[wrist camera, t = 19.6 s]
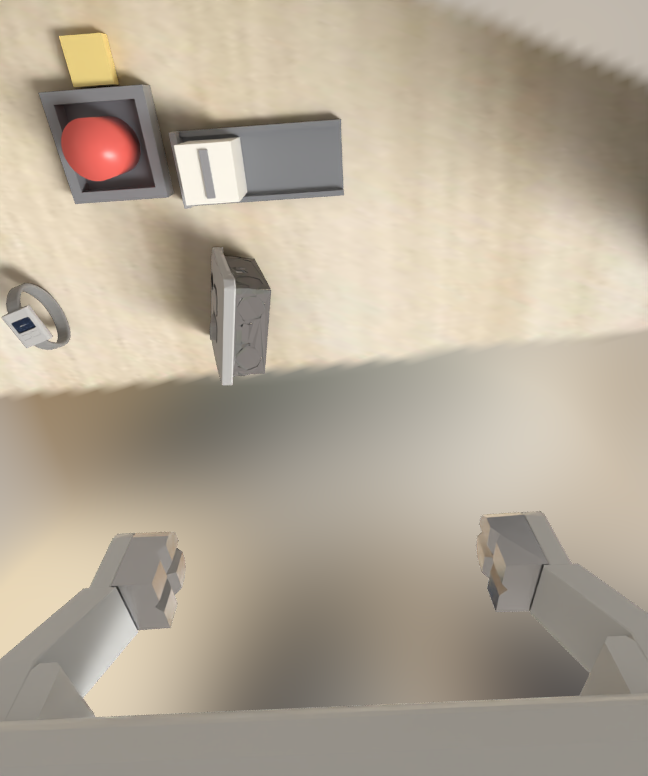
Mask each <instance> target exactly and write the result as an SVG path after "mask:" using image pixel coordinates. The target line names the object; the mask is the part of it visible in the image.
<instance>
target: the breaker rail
mask: <svg viewBox="0 0 648 776" xmlns="http://www.w3.org/2000/svg"><path fill="white" fill-rule="evenodd" d="M234 137H240V142H241V150H242V157H243V164H244V171H245V178H246V185H247V193H246V194H245V196H244V197H243V198H242V199H241V201H240V202H254V201H268V200H283V199H297V198H311V197H325V196H340V195H344V190H343V169H342V144H341V119H334V120H320V121H307V122H294V123H280V124H267V125H254V126H240V127H227V128H213V129H200V130H187V131H175V132H170V133H169V138H170V143H171V147H172V152H173V157H174V161H175V166H176V171H177V175H178V180H179V185H180V189H181V194H182V199H183V203H184V208H191V207H193V206H197V205H188V206H186V201H185V196H184V191H183V187H182V182H181V177H180V172H179V168H178V163H177V158H176V154H175V149H174V145H177V144H180V143H184V142H187V141H194V140H207V139H221V138H234ZM240 202H231V203H240ZM217 204H226V203H217ZM202 205H212V204H202Z"/></svg>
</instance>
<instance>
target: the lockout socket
mask: <svg viewBox="0 0 648 776" xmlns="http://www.w3.org/2000/svg"><path fill="white" fill-rule="evenodd" d="M59 39H60V42H61V46H62V49H63V53H64V56H65V59H66V63H67V66H68V70H69V73H70V76H71V80H72V83H73V86H74V87H78V88H82V87H94V86H107V85H119V82H118V78H117V74H116V70H115V66H114V62H113V58H112V55H111V51H110V47H109V43H108V39H107V35H106V34H103V33H91V34H79V35H66V36H59ZM39 96H40V99H41V102H42V105H43V108H44V111H45V114H46V117H47V120H48V123H49V126H50V129H51V132H52V135H53V138H54V141H55V144H56V147H57V150H58V153H59V156H60V159H61V162H62V165H63V168H64V171H65V174H66V177H67V180H68V183H69V186H70V189H71V192H72V195H73V198H74V201H75V204H81V203H95V202H109V201H124V200H138V199H152V198H166V197H169V196H171V195H173V194H174V191H173V187H172V182H171V178H170V173H169V169H168V164H167V160H166V155H165V151H164V146H163V142H162V137H161V133H160V128H159V124H158V119H157V115H156V110H155V106H154V101H153V97H152V92H151V88H150V85H131V86H118V87H105V88H92V89H80V90H67V91H54V92H41V93H39ZM102 116H112V117H116V118H119V119H121V120H123V121H124V122H126V123H127V124H128V125H129V126H130V127H131V128H132V129H133V130H134V132H135V133H136V135H137V137H138V140H139V143H140V148H141V154H140V159H139V162H138V164H137V165H136V167H135V168H134V169H132V170H131V171H129V172H126V173H123V174H121V175H118V176H115V177H112V178H110V179H107V180H104V181H92V180H88V179H86V178H84V177H82V176H80V175H79V174H78V173H77V172H75V171H74V170H73V169H72V168H71V166H70V165H69V164H68V162H67V160H66V159H65V156H64V154H63V151H62V146H61V137H62V132H63V130H64V128H65V126H66V125H67V124H68V123H69V122H71V121H72V120H74V119H77V118H87V117H102Z"/></svg>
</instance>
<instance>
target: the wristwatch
mask: <svg viewBox="0 0 648 776" xmlns="http://www.w3.org/2000/svg"><path fill="white" fill-rule="evenodd" d="M22 291H23V292H26V293H28V294H30V295H32V296H34V297H35V298H36V299H37V300H39V301H40V302H41V303H42V304H43V305H44V306H45V308H46V309H47V310H48V312H49V313H50V315H51V317H52V319H53V321H54V323H55V325H56V328H57V332H58V340H57V342H56V343H55V342H51V341H48V339H50V338H52V337H53V335H52V334H51V333H50V331H49V330H48V329H47V327H46V326H45V325H44V324H43V322H42V321H41V320H40V318H39V317H38V316H37V314H36V313H35V312H34V311H33V309H32V308H31V307H30V305H28V306H25V307H21V303H20V296H21V292H22ZM6 305H7V311H8V314H6V315H4V316H2V317H1V318H2V319H3V320H4V321H5V323H6V324H7V325H8V326H9V327H10V329H11V330H12V331H13V332H14V334H15V335H16V336H17V337H18V339H19V340H20V341H21V342H22V343H23V345H24V346H25V347H26V348H28V347H31V346H36V347H38V348H41V349H46V350H52V349H56V348H58V347H61V346H64V345H65V344H67V343H68V342H69V340H70V327H69V324H68V321H67V319H66V316H65V314H64V312H63V311H62V309H61V307H60V306H59V304H58V303H57V302H56V300H55V299H54V298H53V297H52V296H51V295H50V294H49V293H48V292H46V291H45V290H43V289H42V288H40V287H38V286H36V285H34V284H31V283H24V284H21V285H19V286H17V287H14V288H12V289H11V290H10V291H9V293H8V296H7V303H6Z"/></svg>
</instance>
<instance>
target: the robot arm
mask: <svg viewBox="0 0 648 776" xmlns="http://www.w3.org/2000/svg"><path fill="white" fill-rule="evenodd" d="M479 525H480V528H481V530H482V532H481V533H480V534H479V535H478V536H477V544H476V547H477V557H478V562H479V565H480V568H481V571H482V573H483V574H484V575H486V576H487V577H488V578H489V581H488V587H487V589H488V591H489V594H490V597H491V600H492V603H493V605H494V608H495V611H496V612H515V611H516V612H517V611H530V614H531V615H532V616H533V617H534V618H535V619H536V620H537V621H538V622H539V623H540V624H541V625H542V626H543V627H544V628H545V629H546V630H547V631H548V632H549V633H550V634H551V635H552V636H553V637H554V638H555V639H556V640H557V641H558V642H559V643H560V644H561V645H562V646H563V647H564V648H565V649H566V650H567V651H568V652H569V653H570V654H571V655H572V656H573V657H574V658H575V659H576V660H577V661H578V662H579V663H580V664H581V665H582V666H583V667H584V668H585V669H586V670H587V671H588V672H589V673H590V675H589V677H588V679H587V681H586V683H585V685H584V687H583V689H582V691H581V694H580V696H568V697H546V698H523V699H501V700H477V701H456V702H455V701H454V702H431V703H408V704H385V705H361V706H338V707H317V708H316V707H315V708H295V709H271V710H248V711H225V712H203V713H179V714H157V715H135V716H114V717H113V716H111V717H95V715H94V713H93V711H92V710H91V709H90V707H89V706H88V705H87V703H86V702H85V700H84V699H83V697H84V696H85V695H86V694H87V693H88V692H89V690H90V689H91V688H92V687H93V686H94V684H95V683H96V682H97V681H98V680H99V678H100V677H101V676H102V675H103V674H104V672H105V671H106V670H107V669H108V667H109V666H110V665H111V664H112V663H113V661H115V659H116V658H117V657H118V656H119V655H120V653H121V652H122V651H123V650H124V649H125V647H126V646H127V645H128V644H129V642H130V641H131V640H132V639H133V638H134V636H135V635H136V634H137V633H138V631H137V630H147V629H160V628H170V627H171V624H172V621H173V618H174V614H175V611H176V607H177V601H176V598H175V594H176V593H177V592H178V591H179V590H180V589H181V588H182V586H183V582H184V577H185V558H184V555H183V552H182V551H181V550H179V549H178V548H176V547H177V544H178V538H177V536H176V533H175V532H152V533H126V534H117V535H116V536H115V537H114V538H113V539H112V541H111V543H110V545H109V547H108V550H107V552H106V554H105V556H104V558H103V560H102V562H101V564H100V566H99V568H98V571H97V573H96V575H95V577H94V579H93V581H92V583H91V585H90V587H89V588H85V589H82V590H81V591H80V592H79V593H78V594H77V595H75V596H74V597H73V598H72V599H71V600H69V601H68V602H67V603H66V604H65V605H64V606H62V607H61V608H60V609H59V610H58V611H56V612H55V613H54V614H53V615H52V616H51V617H49V618H48V619H47V620H46V621H45V622H44V623H42V624H41V625H40V626H39V627H38V628H36V629H35V630H34V631H33V632H32V633H31V634H29V635H28V636H27V637H26V638H25V639H24V640H22V641H21V642H20V643H19V644H18V645H16V646H15V647H14V648H13V649H12V650H10V651H9V652H8V653H7V654H6V655H5V656H3V657H2V658H1V659H0V776H648V613H647V612H646V611H644V610H643V609H641V608H640V607H639V606H637V605H636V604H634V603H633V602H632V601H630V600H629V599H627V598H626V597H625V596H623V595H622V594H620V593H619V592H617V591H616V590H615V589H613V588H612V587H610V586H609V585H608V584H606V583H605V582H603V581H602V580H601V579H599V578H598V577H596V576H595V575H594V574H592V573H591V572H589V571H588V570H587V569H585V568H584V567H582V566H581V565H579V564H576V563H575V564H572V563H571V561H570V559H569V558H568V556H567V554H566V552H565V550H564V548H563V547H562V545H561V543H560V541H559V539H558V538H557V536H556V534H555V532H554V530H553V529H552V527H551V525H550V523H549V522H548V520H547V518H546V516H545V514H544V513H542V512H541V511H536V512H521V513H519V512H514V513H499V514H484V515H482V516H481V518H480V523H479Z"/></svg>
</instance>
